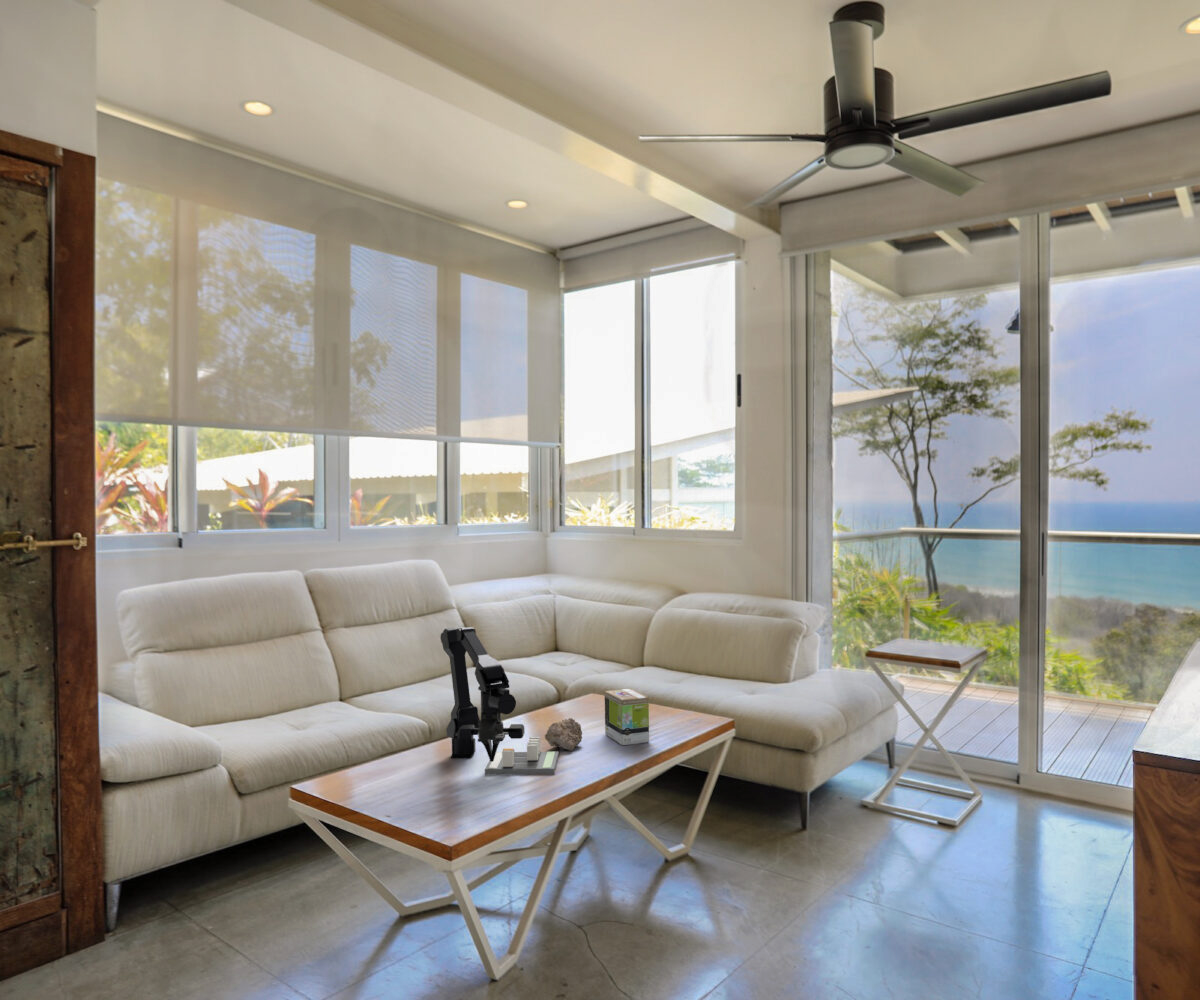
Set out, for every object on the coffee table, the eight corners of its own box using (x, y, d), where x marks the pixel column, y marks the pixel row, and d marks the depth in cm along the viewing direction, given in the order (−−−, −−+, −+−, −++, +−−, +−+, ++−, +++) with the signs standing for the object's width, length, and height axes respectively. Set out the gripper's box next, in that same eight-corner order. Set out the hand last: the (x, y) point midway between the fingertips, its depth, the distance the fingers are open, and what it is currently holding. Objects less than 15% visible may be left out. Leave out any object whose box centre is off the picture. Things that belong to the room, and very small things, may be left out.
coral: (565, 756, 252) (553, 725, 254) (546, 761, 258) (534, 731, 259) (593, 738, 263) (581, 709, 264) (575, 743, 269) (563, 714, 270)
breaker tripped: (502, 766, 237) (502, 750, 237) (503, 763, 240) (503, 747, 240) (512, 766, 237) (512, 750, 237) (514, 763, 240) (513, 747, 240)
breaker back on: (529, 754, 248) (529, 739, 248) (530, 751, 251) (530, 736, 251) (539, 754, 248) (538, 739, 248) (540, 751, 251) (540, 736, 251)
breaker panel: (484, 774, 236) (484, 768, 236) (493, 757, 252) (493, 751, 252) (554, 773, 236) (554, 768, 236) (558, 756, 252) (558, 751, 252)
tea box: (650, 742, 264) (649, 696, 264) (621, 746, 261) (620, 699, 261) (631, 730, 278) (630, 687, 278) (604, 734, 275) (603, 690, 275)
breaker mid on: (527, 760, 242) (526, 744, 242) (528, 757, 245) (528, 741, 245) (537, 760, 242) (537, 744, 242) (538, 757, 245) (538, 741, 245)
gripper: (453, 715, 231) (454, 770, 231) (519, 714, 230) (520, 769, 230) (461, 705, 242) (462, 758, 242) (524, 704, 241) (525, 757, 241)
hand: (492, 761), depth 239 cm, fingers closed
